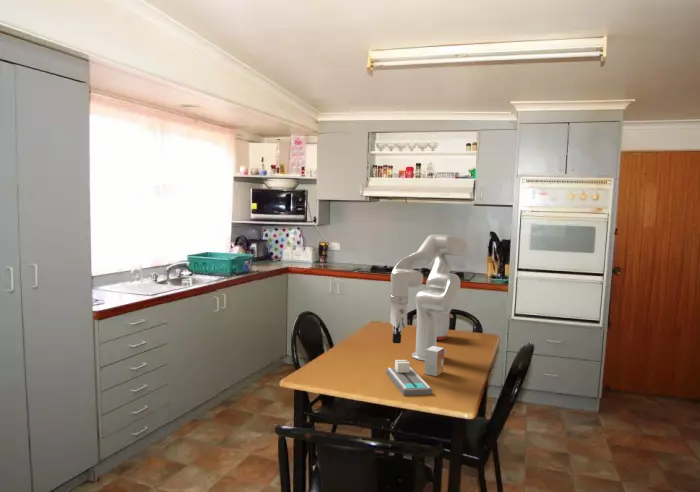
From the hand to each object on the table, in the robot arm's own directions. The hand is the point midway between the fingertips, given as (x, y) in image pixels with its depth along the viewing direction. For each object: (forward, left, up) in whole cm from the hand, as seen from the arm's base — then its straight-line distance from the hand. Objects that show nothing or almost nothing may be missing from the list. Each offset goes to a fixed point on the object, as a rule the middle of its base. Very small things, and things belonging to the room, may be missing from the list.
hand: (396, 342), depth 207 cm
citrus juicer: (-38, -51, -12) cm, 65 cm away
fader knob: (-1, +8, -10) cm, 12 cm away
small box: (-16, +5, -12) cm, 20 cm away
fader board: (-1, +16, -12) cm, 20 cm away
